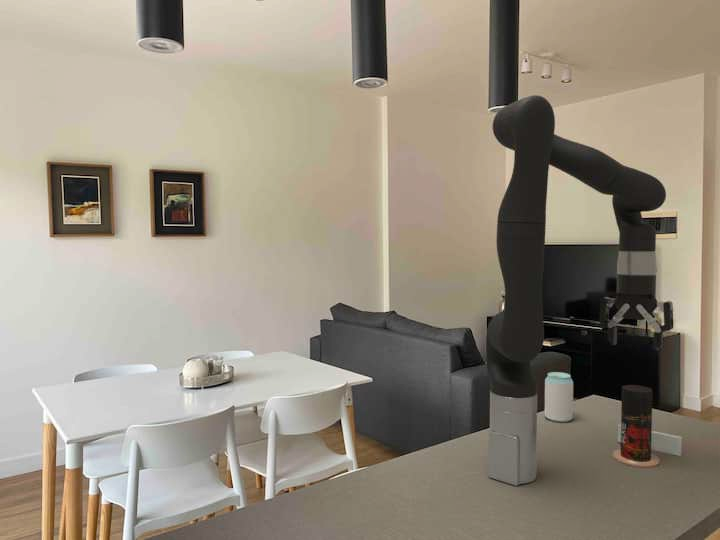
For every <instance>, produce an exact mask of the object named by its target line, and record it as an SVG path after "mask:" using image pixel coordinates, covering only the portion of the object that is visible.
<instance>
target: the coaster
mask: <svg viewBox="0 0 720 540" xmlns="http://www.w3.org/2000/svg"><path fill="white" fill-rule="evenodd" d="M612 456H613V459H614V460H615V461H617V460H618V461H617V462H619V463H621V462H622V463H621V464H623V463H624V465H626V464H628V465H627V466H630V465H631V466H630V467H634V466H636V467H635V468H642V467H648V468H647V469H649V468H655V467H658V466H659V465H660V458H659V457H658V456H657V455H655V454H653V453H652V452H651V460H650V461H647V462H637V461H631V460H628V459H625V458H624V457H622V456H621V448H618V449H616V450H614V451H613V452H612Z"/></svg>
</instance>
